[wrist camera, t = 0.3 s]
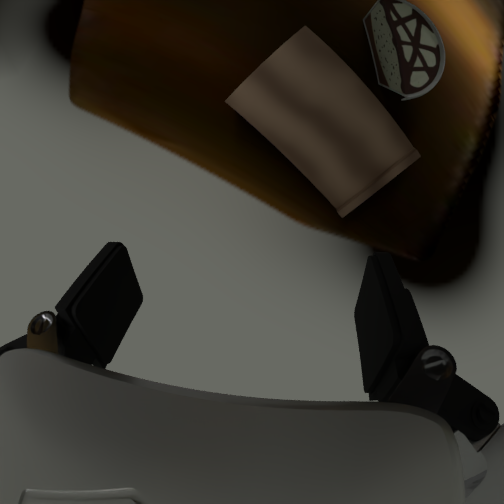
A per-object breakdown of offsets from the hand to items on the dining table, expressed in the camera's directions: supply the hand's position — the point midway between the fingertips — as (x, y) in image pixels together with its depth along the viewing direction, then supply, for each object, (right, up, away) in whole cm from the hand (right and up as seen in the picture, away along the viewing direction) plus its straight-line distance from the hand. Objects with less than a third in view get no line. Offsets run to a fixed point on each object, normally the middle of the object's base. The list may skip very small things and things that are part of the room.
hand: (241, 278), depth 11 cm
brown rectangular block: (+10, +18, +23) cm, 31 cm away
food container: (+18, +27, +15) cm, 36 cm away
